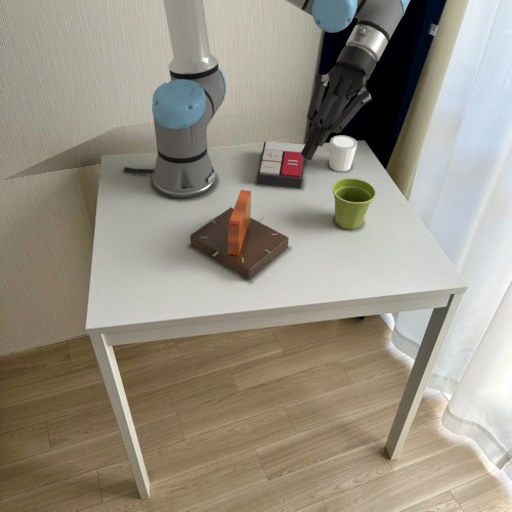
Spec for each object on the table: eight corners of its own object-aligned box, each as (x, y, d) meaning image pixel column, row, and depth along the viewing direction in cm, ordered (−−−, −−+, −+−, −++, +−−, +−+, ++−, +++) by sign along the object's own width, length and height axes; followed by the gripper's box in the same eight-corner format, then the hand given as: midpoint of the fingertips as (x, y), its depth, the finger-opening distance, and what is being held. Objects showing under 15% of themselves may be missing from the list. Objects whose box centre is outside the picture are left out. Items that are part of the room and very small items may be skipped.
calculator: (257, 172, 126) (264, 138, 136) (256, 186, 129) (263, 152, 139) (302, 176, 125) (306, 142, 135) (301, 190, 128) (304, 156, 138)
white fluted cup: (354, 160, 138) (358, 137, 133) (351, 174, 133) (356, 150, 128) (328, 156, 139) (331, 133, 134) (325, 170, 134) (328, 146, 129)
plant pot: (367, 237, 114) (375, 205, 109) (325, 230, 116) (330, 199, 110) (369, 212, 121) (377, 181, 115) (329, 206, 122) (334, 175, 117)
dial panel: (184, 249, 109) (184, 238, 107) (234, 214, 119) (235, 203, 117) (244, 285, 102) (244, 274, 100) (292, 244, 112) (293, 233, 110)
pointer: (240, 218, 113) (240, 188, 108) (250, 219, 113) (251, 190, 108) (227, 254, 104) (227, 223, 99) (238, 255, 104) (239, 225, 99)
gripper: (328, 36, 106) (273, 139, 107) (385, 53, 100) (326, 162, 102) (338, 55, 113) (287, 152, 114) (392, 72, 107) (337, 174, 108)
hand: (305, 157), depth 108 cm, fingers closed
